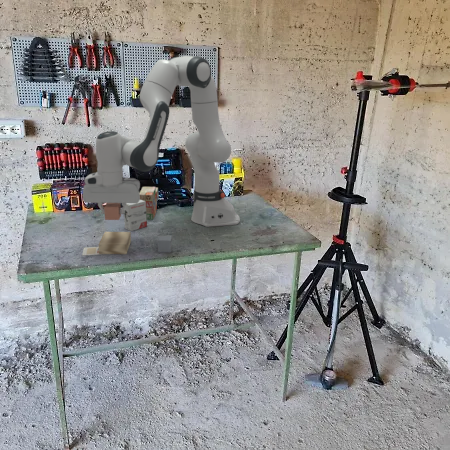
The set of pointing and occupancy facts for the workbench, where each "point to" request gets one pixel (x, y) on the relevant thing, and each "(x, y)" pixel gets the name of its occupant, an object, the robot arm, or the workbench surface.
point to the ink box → (135, 215)
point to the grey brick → (164, 243)
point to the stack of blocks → (150, 200)
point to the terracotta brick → (112, 211)
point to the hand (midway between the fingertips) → (112, 213)
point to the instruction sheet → (91, 251)
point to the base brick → (115, 243)
